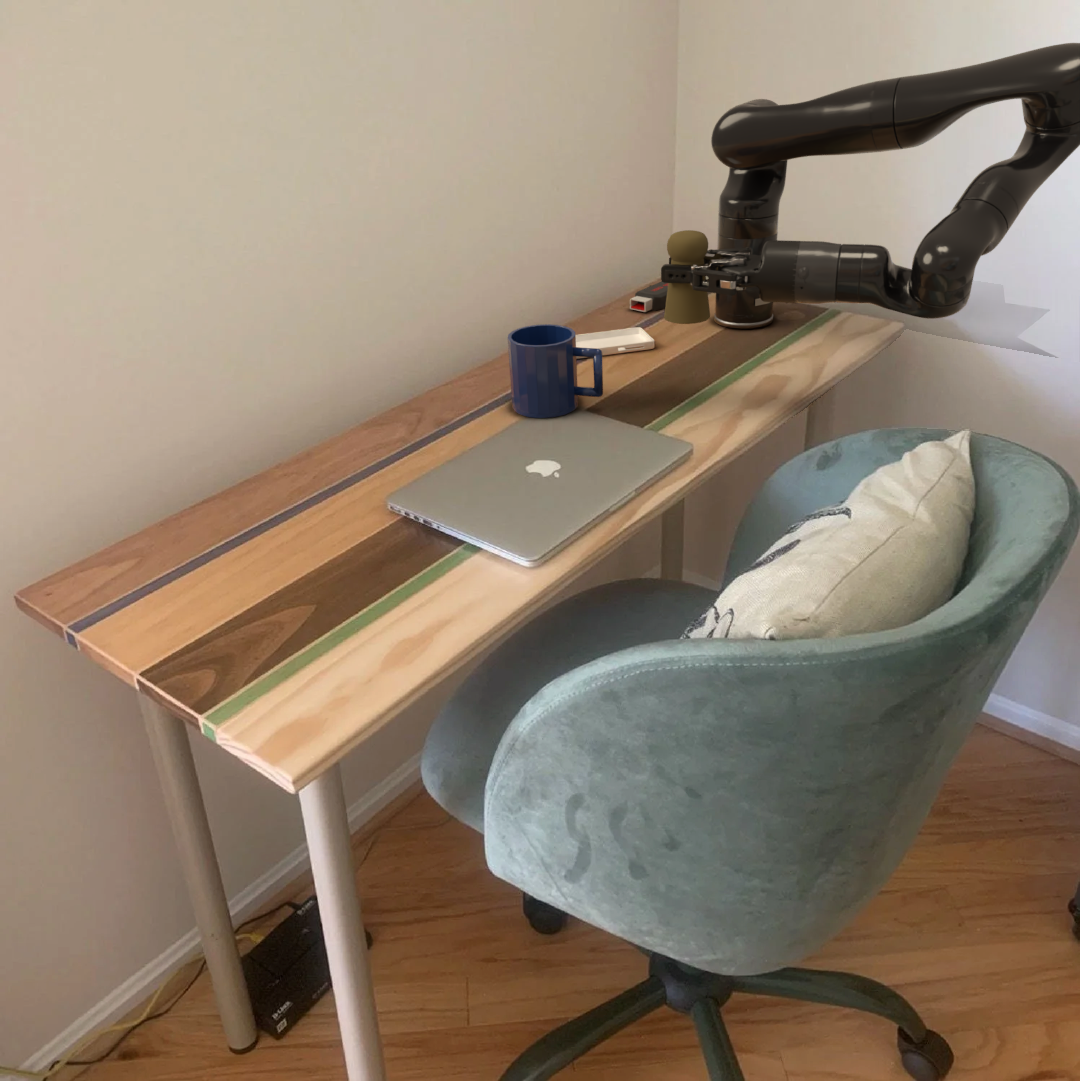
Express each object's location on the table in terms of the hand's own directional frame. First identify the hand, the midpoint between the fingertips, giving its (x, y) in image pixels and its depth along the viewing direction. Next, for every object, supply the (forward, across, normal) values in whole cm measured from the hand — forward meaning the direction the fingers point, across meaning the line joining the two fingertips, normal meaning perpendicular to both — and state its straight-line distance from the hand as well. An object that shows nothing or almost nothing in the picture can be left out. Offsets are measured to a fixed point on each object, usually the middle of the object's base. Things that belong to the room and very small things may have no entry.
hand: (666, 268), depth 134 cm
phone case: (+14, +18, -18) cm, 29 cm away
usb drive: (+11, +42, -18) cm, 46 cm away
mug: (+14, -6, -18) cm, 23 cm away
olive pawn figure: (-3, 0, -6) cm, 7 cm away
